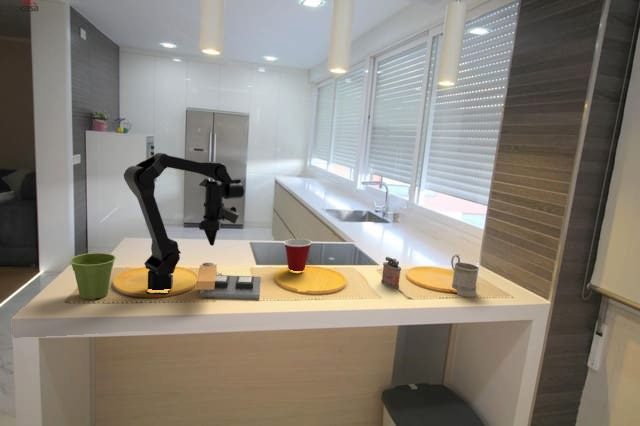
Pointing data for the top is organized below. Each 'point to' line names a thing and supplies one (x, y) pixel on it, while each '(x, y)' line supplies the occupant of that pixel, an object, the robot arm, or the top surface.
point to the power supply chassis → (234, 287)
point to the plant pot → (93, 274)
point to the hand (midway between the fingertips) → (212, 245)
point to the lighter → (391, 273)
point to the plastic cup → (297, 253)
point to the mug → (464, 278)
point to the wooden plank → (206, 277)
